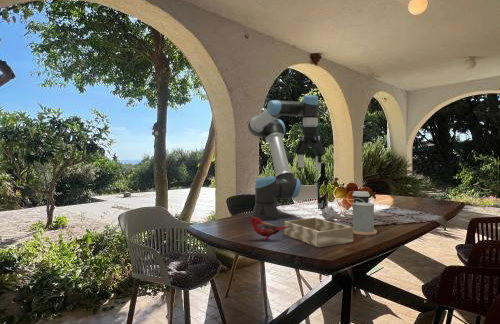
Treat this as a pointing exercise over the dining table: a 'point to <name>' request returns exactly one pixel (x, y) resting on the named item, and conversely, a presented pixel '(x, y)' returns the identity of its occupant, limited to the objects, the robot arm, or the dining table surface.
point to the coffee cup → (361, 196)
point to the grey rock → (329, 213)
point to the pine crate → (318, 232)
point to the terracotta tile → (365, 232)
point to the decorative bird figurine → (265, 228)
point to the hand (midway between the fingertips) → (309, 168)
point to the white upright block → (363, 217)
